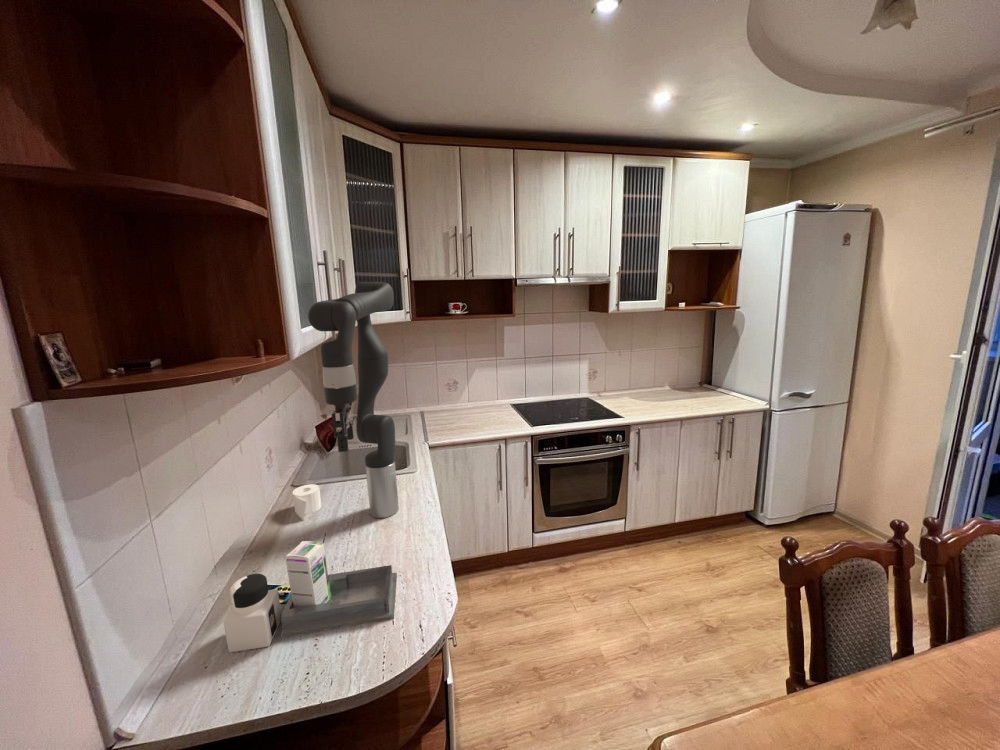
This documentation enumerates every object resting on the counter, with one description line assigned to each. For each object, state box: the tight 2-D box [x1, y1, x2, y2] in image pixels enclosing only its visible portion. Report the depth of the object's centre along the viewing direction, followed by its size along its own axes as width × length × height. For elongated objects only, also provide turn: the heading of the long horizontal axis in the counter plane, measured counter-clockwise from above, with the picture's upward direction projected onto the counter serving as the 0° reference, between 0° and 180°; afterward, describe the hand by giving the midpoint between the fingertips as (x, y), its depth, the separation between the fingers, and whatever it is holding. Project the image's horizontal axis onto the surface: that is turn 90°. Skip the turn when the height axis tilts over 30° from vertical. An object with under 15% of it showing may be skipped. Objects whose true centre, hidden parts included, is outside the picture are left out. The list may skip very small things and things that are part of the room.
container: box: [223, 573, 283, 653], centre depth 84 cm, size 8×8×13 cm
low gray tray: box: [280, 565, 398, 639], centre depth 93 cm, size 14×23×4 cm, turn 102°
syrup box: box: [284, 540, 331, 608], centre depth 91 cm, size 6×6×14 cm
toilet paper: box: [292, 483, 322, 522], centre depth 136 cm, size 8×11×7 cm
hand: (346, 445), depth 103 cm, fingers open, 8 cm apart
